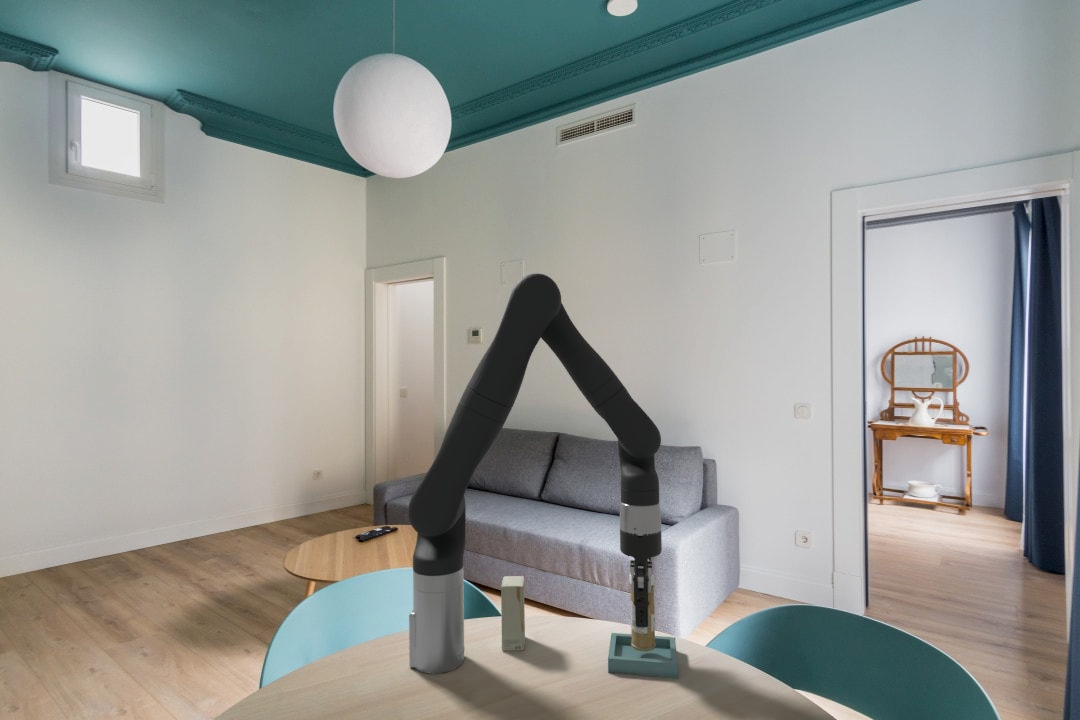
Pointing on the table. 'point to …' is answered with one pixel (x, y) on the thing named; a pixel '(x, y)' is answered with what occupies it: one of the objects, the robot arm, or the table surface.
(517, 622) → the skincare box
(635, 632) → the sprinkles bottle
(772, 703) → the table surface
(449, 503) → the robot arm
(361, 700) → the table surface
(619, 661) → the tray
